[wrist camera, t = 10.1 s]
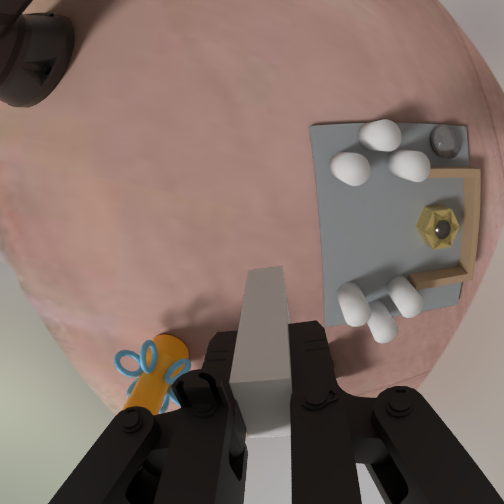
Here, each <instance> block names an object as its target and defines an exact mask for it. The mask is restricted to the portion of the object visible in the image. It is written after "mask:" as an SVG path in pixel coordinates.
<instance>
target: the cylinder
mask: <svg viewBox="0 0 504 504" xmlns="http://www.w3.org/2000/svg"><path fill="white" fill-rule="evenodd" d="M123 356H130V357H133V358H134V359H135V360H136V361H137V362H138V364H139V369H138V370H137V371H134V372H132V371H128V370H126V369H124V368H123V367H122V365H121V363H120V358H121V357H123ZM114 363H115V366H116V368H117V369H118V371H119V372H121V373H122V374H123V375H125V376H128V377H138V376H140V377H139V378H138V379H136V380H135V381H134V382H133V383H132V384H131V385H130V387H129V388H128V391H127V396H128V397H129V398H128V400H127V402H126V404H125V405H124V407H123V409H122V410H124V409H126V408H128V407H133V406H140V407H145V408H146V409H148V410H150V412H151V413H152V415H157V414H158V413H164V412H165V411H166V410H167V408H168V405H169V397H170V398H171V400H172V401H173V402H174V403H176V404H177V405H179V406H180V404H179V402H178V400H177V398H176V396H175V394H174V392H173V390H172V389H171V386H172V384H173V383H174V381H175V380H176V379H177V378H178V377H180V376H181V375H182V374H184V373H187V372H189V370H190V368H191V361H190V360H189V351H188V348H187V347H186V345H185V344H184V343H183V342H182V341H181V340H180V339H178V338H176V337H174V336H172V335H167V334H162V335H158V336H156V337H155V338H154V339H153V340H147V341H145V342H144V343H143V345H142V347H141V351H140V356H139V355H138V354H136V353H135V352H133V351H129V350H122V351H119V352H118V353H117V354H116V355H115V358H114ZM163 401H164V403H163ZM162 403H163V406H162ZM161 406H162V408H161Z"/></svg>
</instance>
